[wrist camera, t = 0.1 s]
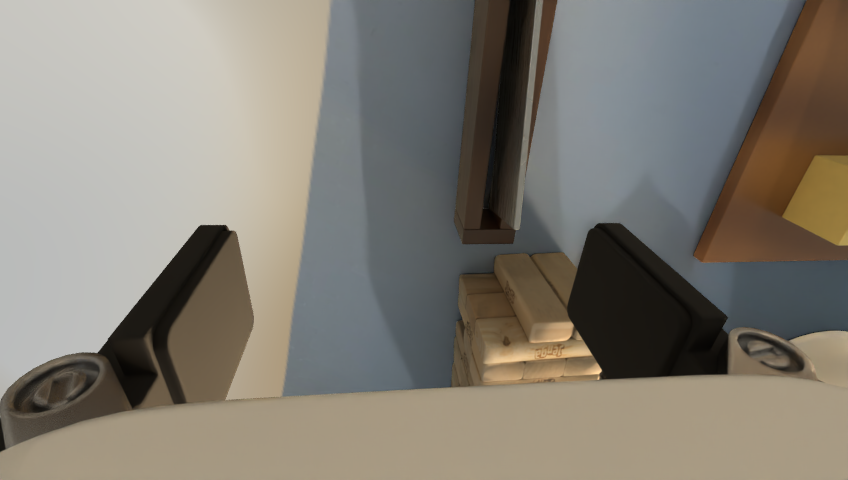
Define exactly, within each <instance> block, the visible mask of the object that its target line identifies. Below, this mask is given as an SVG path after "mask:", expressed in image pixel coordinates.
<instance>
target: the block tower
mask: <svg viewBox="0 0 848 480" xmlns="http://www.w3.org/2000/svg"><path fill="white" fill-rule="evenodd" d="M576 273H577V268H576V267H575V266H574V264H573V263H572V262H571V261H570V260H569V258H568V257H567V256H566V255H565V254H564V253H563V252H559V253H540V254H533V255H532V256H531V257H529V256H528V255H527V254H525V253H523V254H505V255H497V256H496V257H495V262H494V273H489V274H465V275H460V277H459V296H458V307H459V310H460V313H461V316H462V319H463V320H461V321H457V322H456V337H455V338H454V363H453V366H452V380H451V386H452V387H467V386H486V385H505V384H525V383H544V382H564V381H584V380H599V373H601V371H602V370H601V368H600V366H599V365H598V363H597V362H596V360H595V358H594V357H593V355H592V354H591V352H590V350H589V349H588V347H587V346H586V344H585V342H584V341H583V339H582V338H581V336H580V335H579V333H578V331H577V330H576V328H575V327H574V325H573V323H572V322H571V320H570V319H569V317H568V313H567V305H568V301H569V297H570V294H571V290H572V287H573V283H574V280H575V276H576Z"/></svg>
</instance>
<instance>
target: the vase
mask: <svg viewBox="0 0 848 480" xmlns="http://www.w3.org/2000/svg"><path fill="white" fill-rule="evenodd" d="M789 342H790V343H792V344H794V345H795V346H796V347H798V348H799V349H800V350H802V351H803V352H804V353H805V354H806V355H807V356H808V357H809V358H810V359H811V361H812V363H813V365H814V367H815V370H816V375H817V379H818V380H820V381H822V382H825V383H828V384H832V385H836V386H841V387H845V388H848V332H845V331H824V332H818V333H812V334H808V335H804V336H801V337H798V338H795V339H792V340H789Z"/></svg>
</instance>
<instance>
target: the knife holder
mask: <svg viewBox="0 0 848 480" xmlns="http://www.w3.org/2000/svg"><path fill="white" fill-rule="evenodd" d="M556 5H557V0H543V6H542V16H541V26H540V35H539V45H538V55H537V65H536V75H535V84H534V94H533V104H532V114H531V124H530V133H529V143H528V153H527V163H526V170H527V164H528V159H529V153H530V148H531V142H532V137H533V131H534V126H535V120H536V115H537V109H538V104H539V98H540V93H541V87H542V82H543V76H544V71H545V65H546V60H547V54H548V49H549V43H550V38H551V32H552V27H553V21H554V16H555V10H556ZM509 6H510V0H475V7H474V17H473V28H472V38H471V49H470V59H469V70H468V80H467V91H466V101H465V112H464V122H463V133H462V143H461V154H460V164H459V175H458V185H457V196H456V206H455V208H456V209H455V216H454V223H455V226H456V228H457V231H458V234H459V236H460V239H461V242H462V244H513V242H514V237H515V231H516V230H514V229H513V228H512V227H510V226H509V225H508V224H507V223H506V222H505V221H504V220H502V219H501V218H500V217H499V216H498V215H497V214H496V213H494V212H493V211H492V210H491V209H490V205H491V192H492V185H491V192H490V199H489V206H488V208H483V203H484V195H485V188H486V180H487V172H488V165H489V157H490V150H491V142H492V135H493V127H494V119H495V112H496V104H497V97H498V89H499V82H500V74H501V67H502V59H503V51H504V44H505V36H506V29H507V21H508V14H509ZM525 175H526V172H525ZM492 179H493V177H492Z"/></svg>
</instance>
